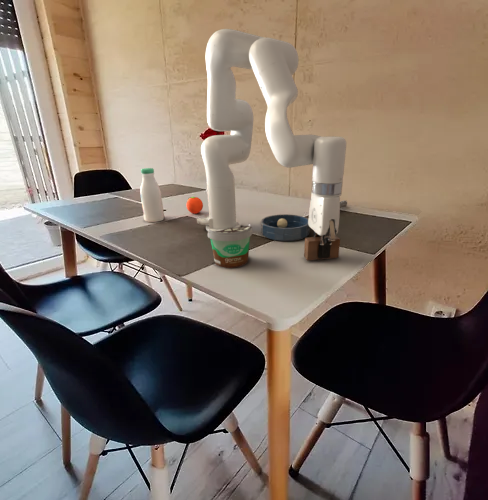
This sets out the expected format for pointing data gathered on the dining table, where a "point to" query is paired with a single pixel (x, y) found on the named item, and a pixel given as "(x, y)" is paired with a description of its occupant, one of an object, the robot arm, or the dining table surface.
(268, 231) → the bowl
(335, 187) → the robot arm
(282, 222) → the dough ball
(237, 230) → the food container
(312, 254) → the brown wooden block
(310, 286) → the dining table surface
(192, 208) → the clementine
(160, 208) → the milk bottle
